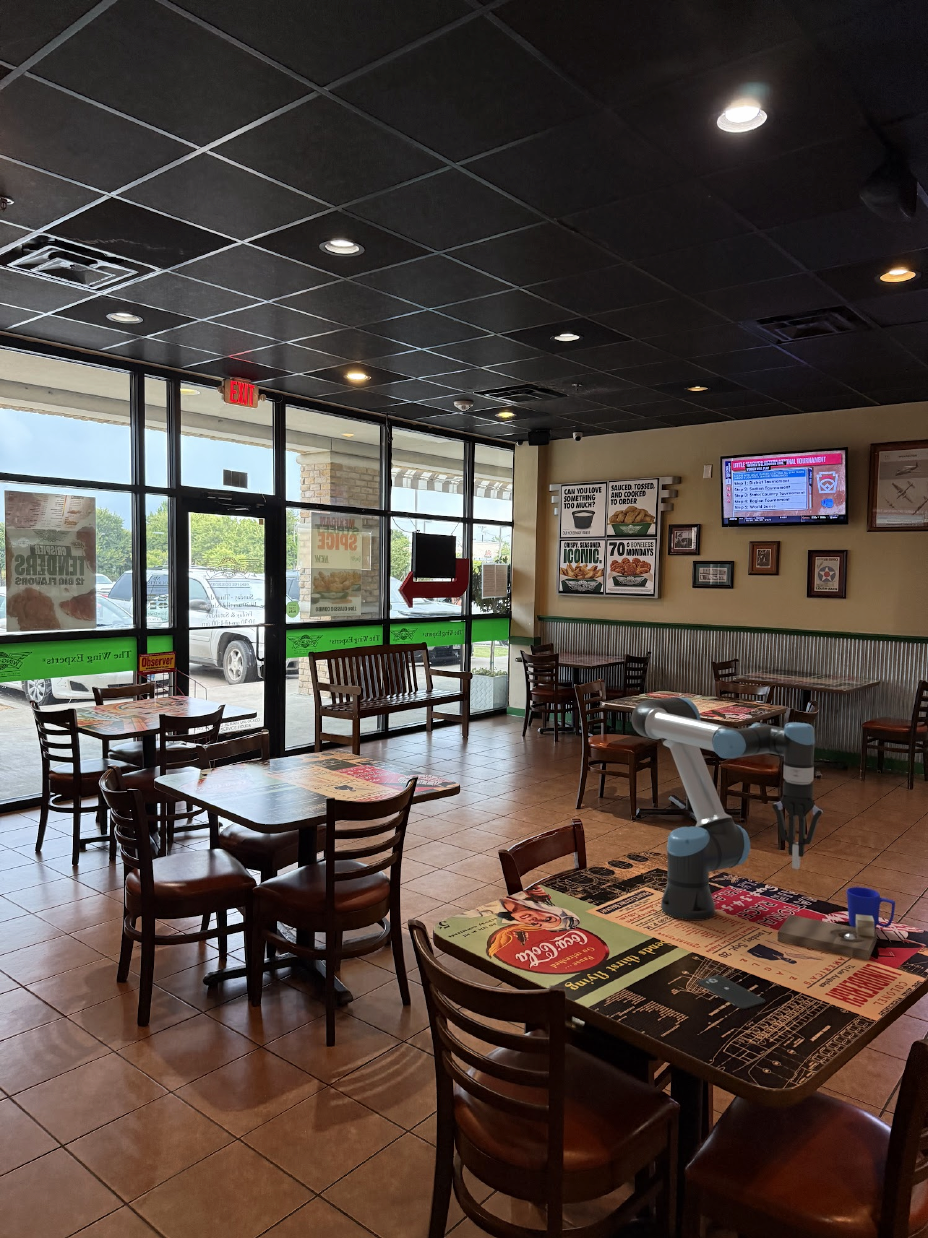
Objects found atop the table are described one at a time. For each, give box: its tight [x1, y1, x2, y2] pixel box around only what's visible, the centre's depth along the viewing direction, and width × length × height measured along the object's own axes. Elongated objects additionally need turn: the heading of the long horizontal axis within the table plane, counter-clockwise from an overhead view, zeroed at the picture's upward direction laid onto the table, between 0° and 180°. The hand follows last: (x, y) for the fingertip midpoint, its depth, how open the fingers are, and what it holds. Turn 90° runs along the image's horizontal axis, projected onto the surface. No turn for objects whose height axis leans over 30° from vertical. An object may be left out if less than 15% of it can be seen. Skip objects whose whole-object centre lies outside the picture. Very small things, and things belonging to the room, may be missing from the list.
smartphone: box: [696, 974, 766, 1010], centre depth 198 cm, size 8×15×1 cm, turn 27°
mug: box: [846, 886, 896, 931], centre depth 233 cm, size 8×12×10 cm
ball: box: [843, 933, 856, 939], centre depth 223 cm, size 3×3×3 cm
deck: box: [777, 914, 878, 961], centre depth 226 cm, size 22×14×2 cm, turn 57°
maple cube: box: [856, 914, 875, 937], centre depth 225 cm, size 4×4×4 cm
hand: (795, 867), depth 230 cm, fingers closed
